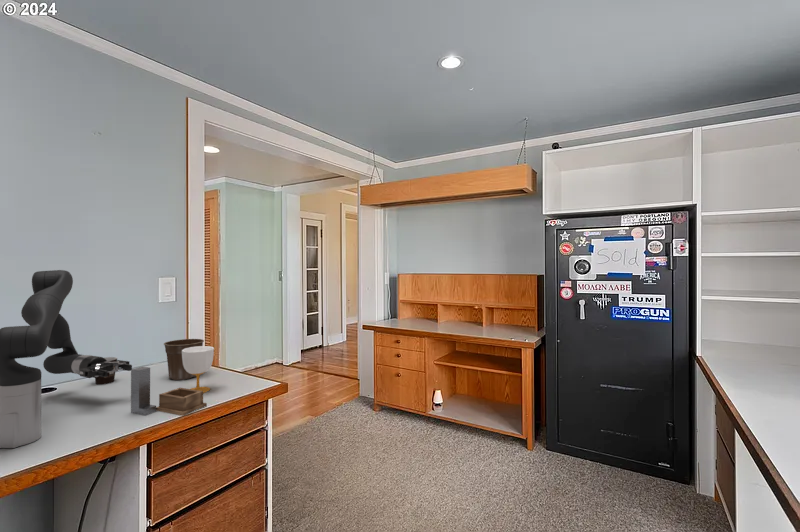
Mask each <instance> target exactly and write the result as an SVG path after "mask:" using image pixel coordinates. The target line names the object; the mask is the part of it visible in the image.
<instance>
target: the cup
mask: <svg viewBox="0 0 800 532" xmlns="http://www.w3.org/2000/svg"><path fill="white" fill-rule="evenodd" d="M214 351H215V347H213V346H209V345H207V346H206V345H203V346H197V347H190V348H185V349H183V350H182V361H183V366H184V369H185V370H186V371H187V372H188V373H190V374H193V375H196V377H195V378H196V387H191V388H190V389H192V390H199V391H203V394H205V393H207V391H208V392H209V391H211V388H210V387H208V386H200V379H201V378H200V376H202V375H203V374H205V373H206V372H209V370H210V369H211V367H212V364H213V361H214V354H215V353H214Z"/></svg>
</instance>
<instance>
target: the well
mask: <svg viewBox="0 0 800 532" xmlns="http://www.w3.org/2000/svg"><path fill="white" fill-rule="evenodd" d="M158 401H159V402H158V406H156V412H162V413H167V414H172V415H178V416H185V415H188V414H190V413H192V411H193V412H194V410H195V411H197V410H196V409H198V410H200V409H203V408H205V407H207V405H208V404H207V402H204V393H203V391H199V390H192V389H191V388H183V387H178V388H174V389H172V390H168V391H165V392H162V393H159V394H158ZM204 406H205V407H204ZM202 407H203V408H202ZM199 408H200V409H199Z"/></svg>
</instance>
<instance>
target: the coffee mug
mask: <svg viewBox="0 0 800 532" xmlns="http://www.w3.org/2000/svg"><path fill="white" fill-rule="evenodd" d="M104 358H105V359H106V360H107V362H108V361H110V362H116V361H117V360H118V357H116V356H115V357H114V356H107V357H104ZM113 370H115V366H114V368H113ZM115 377H116V372H108V376H107V377H100V376H99V377H95V378H94V380H95V381H94V382H95V385H99V386H100V385H108V384H112V383H114V382H115Z"/></svg>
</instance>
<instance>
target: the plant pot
mask: <svg viewBox="0 0 800 532" xmlns="http://www.w3.org/2000/svg"><path fill="white" fill-rule="evenodd" d="M204 342H205V340H204V339H201V338H183V339H174V340H169V341H166V342H164V343H163V346H164V348H165V353H166V361H167V371H168V379H169V380H174V381H183V380H189V379H192V378H196V375H193V374H190V373H188V372H187V371H186V370H185V369H184V366H183V361H182V350H183V349H185V348H190V347H197V346H204Z"/></svg>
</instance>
